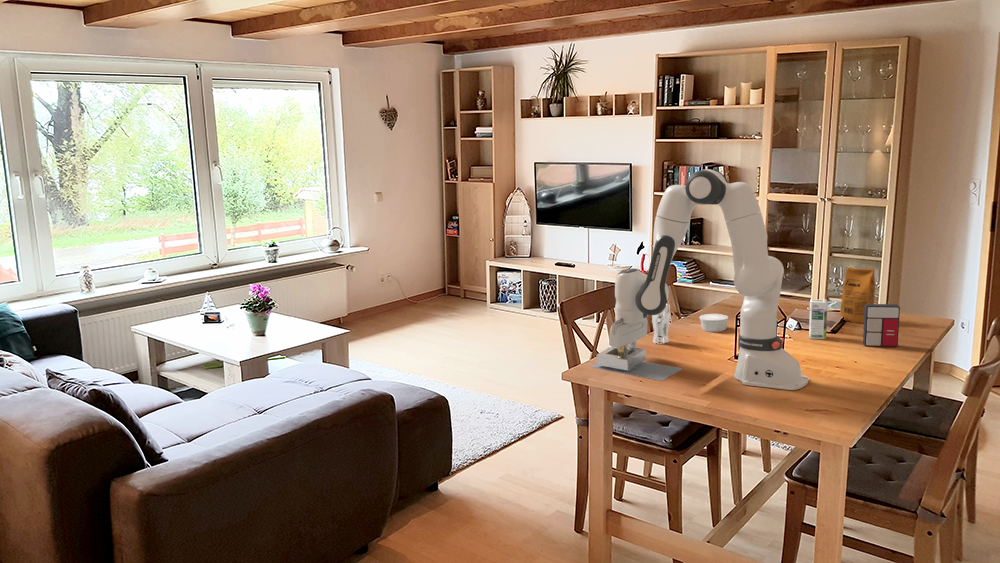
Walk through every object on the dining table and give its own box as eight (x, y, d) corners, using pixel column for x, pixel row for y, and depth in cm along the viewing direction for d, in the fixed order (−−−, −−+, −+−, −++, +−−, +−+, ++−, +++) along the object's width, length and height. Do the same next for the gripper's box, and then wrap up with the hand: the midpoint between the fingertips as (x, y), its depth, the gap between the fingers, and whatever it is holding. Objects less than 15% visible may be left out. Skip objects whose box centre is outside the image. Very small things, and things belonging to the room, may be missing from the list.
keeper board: (683, 372, 253) (683, 368, 253) (661, 385, 242) (661, 380, 242) (613, 360, 270) (613, 356, 270) (590, 371, 259) (590, 366, 259)
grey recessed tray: (645, 359, 259) (645, 349, 259) (627, 370, 251) (627, 360, 250) (615, 353, 267) (614, 344, 266) (597, 364, 258) (596, 354, 257)
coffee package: (846, 315, 319) (848, 264, 315) (877, 320, 310) (879, 267, 306) (835, 320, 312) (838, 267, 308) (867, 325, 303) (869, 270, 299)
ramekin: (698, 332, 303) (699, 319, 302) (700, 325, 313) (700, 313, 312) (728, 333, 300) (728, 320, 299) (728, 326, 310) (728, 313, 309)
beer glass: (670, 344, 287) (670, 306, 284) (651, 344, 288) (651, 305, 286) (669, 339, 294) (670, 302, 291) (651, 339, 295) (651, 301, 292)
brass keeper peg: (629, 364, 259) (629, 339, 257) (623, 367, 256) (623, 342, 254) (619, 363, 262) (618, 337, 260) (613, 366, 259) (612, 340, 257)
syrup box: (809, 339, 287) (811, 301, 284) (808, 335, 292) (810, 298, 289) (826, 339, 285) (827, 302, 282) (824, 335, 290) (826, 298, 288)
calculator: (865, 346, 274) (867, 306, 271) (862, 343, 278) (864, 303, 275) (898, 347, 271) (900, 306, 268) (895, 344, 275) (897, 304, 273)
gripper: (620, 323, 250) (621, 363, 252) (650, 311, 265) (650, 349, 268) (604, 321, 254) (604, 360, 256) (634, 309, 269) (635, 346, 272)
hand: (628, 354), depth 262 cm, fingers closed on grey recessed tray, 2 cm apart
